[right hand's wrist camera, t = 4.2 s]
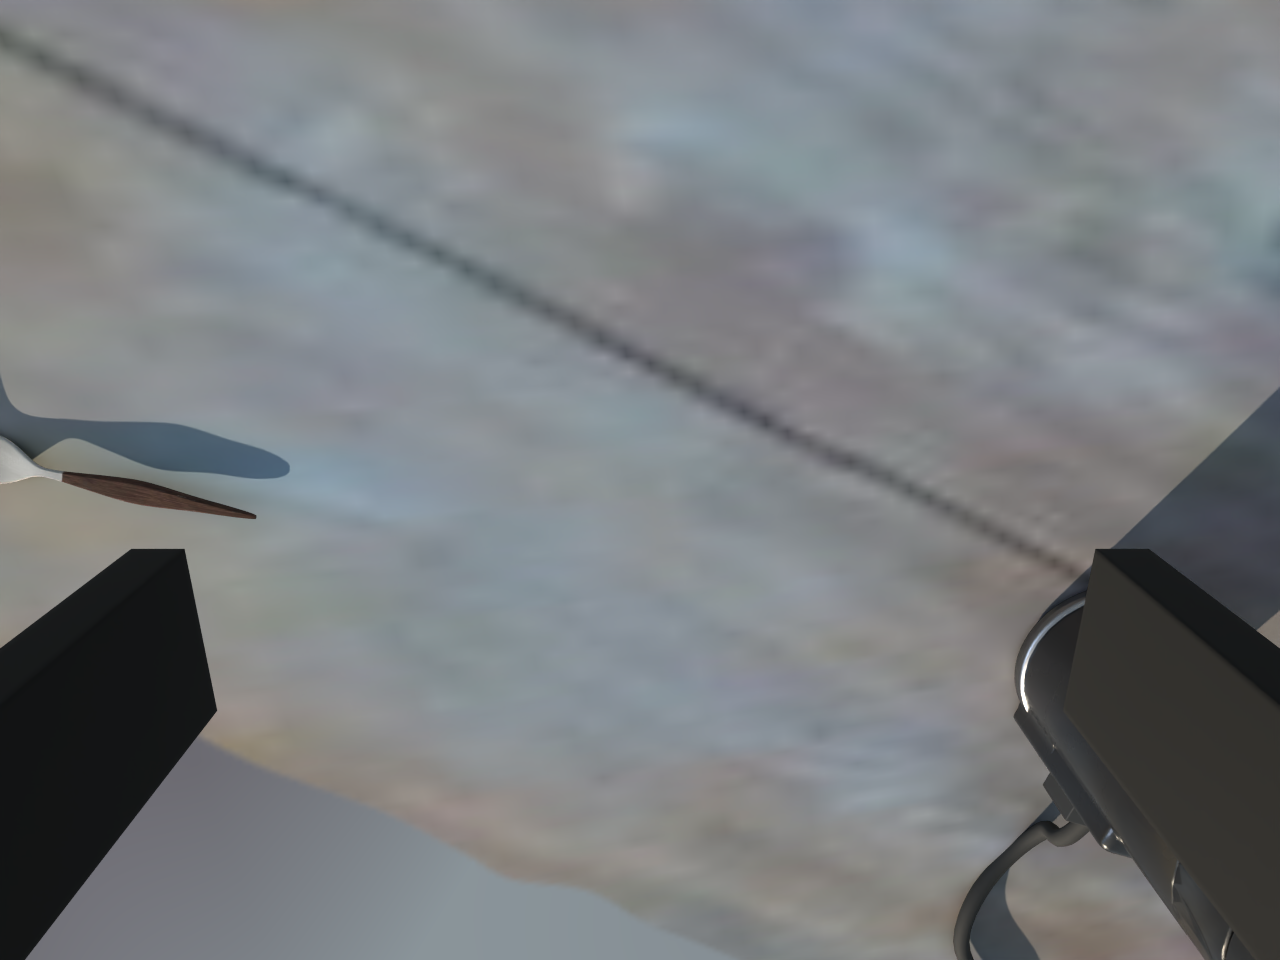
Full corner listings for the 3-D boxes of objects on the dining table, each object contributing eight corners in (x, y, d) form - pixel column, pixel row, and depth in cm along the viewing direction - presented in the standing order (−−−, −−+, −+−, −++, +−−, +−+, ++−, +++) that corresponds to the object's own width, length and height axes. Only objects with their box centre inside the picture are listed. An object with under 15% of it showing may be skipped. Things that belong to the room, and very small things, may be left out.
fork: (258, 537, 42) (240, 554, 41) (-77, 467, 41) (-111, 481, 39) (262, 489, 42) (245, 504, 40) (-80, 416, 40) (-115, 428, 38)
